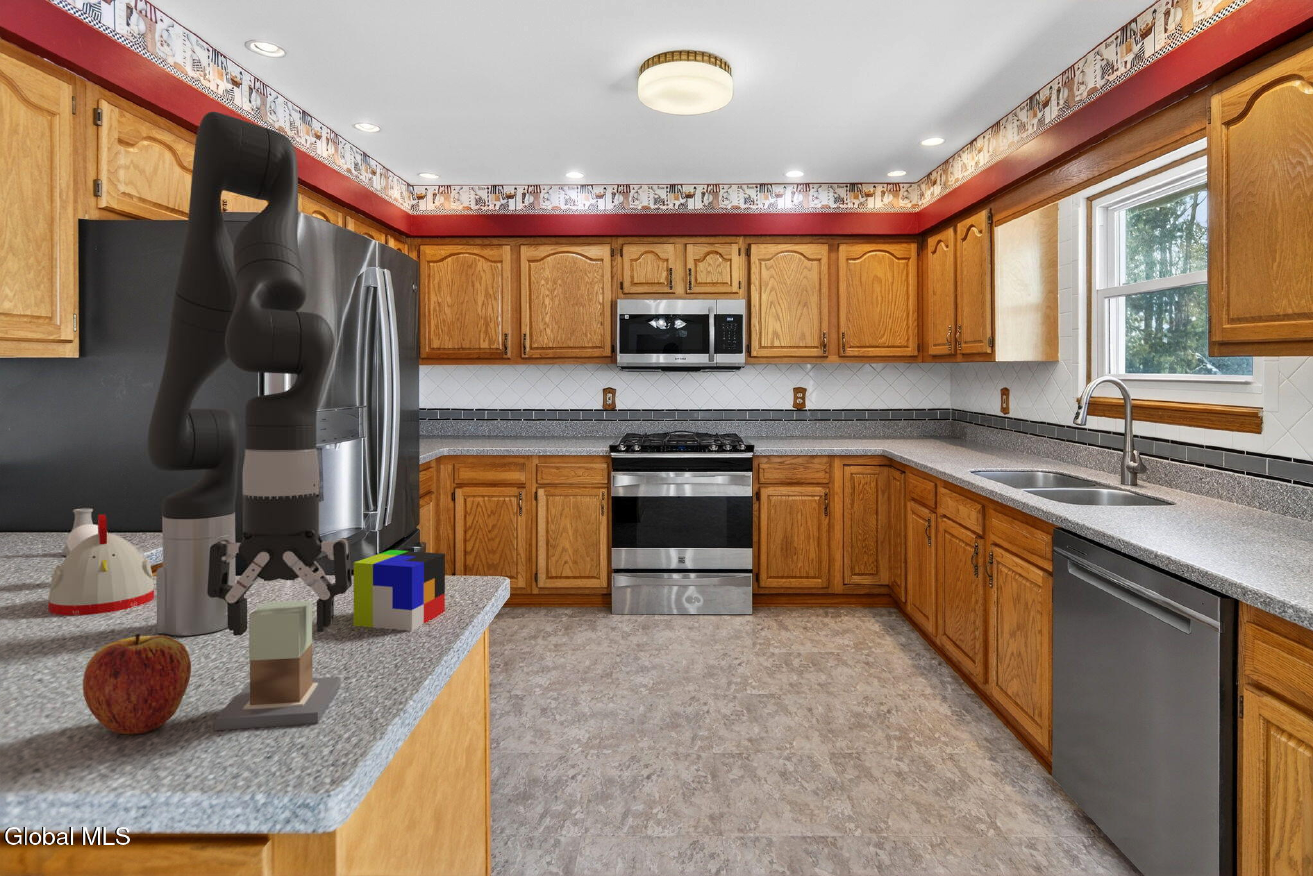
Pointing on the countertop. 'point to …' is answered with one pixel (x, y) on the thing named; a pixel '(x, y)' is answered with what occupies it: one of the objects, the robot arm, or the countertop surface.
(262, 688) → the walnut block
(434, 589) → the puzzle toy
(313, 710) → the build board
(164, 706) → the apple
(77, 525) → the flask
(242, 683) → the countertop surface
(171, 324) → the robot arm
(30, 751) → the countertop surface
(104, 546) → the kitchen timer
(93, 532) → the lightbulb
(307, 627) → the sage block
